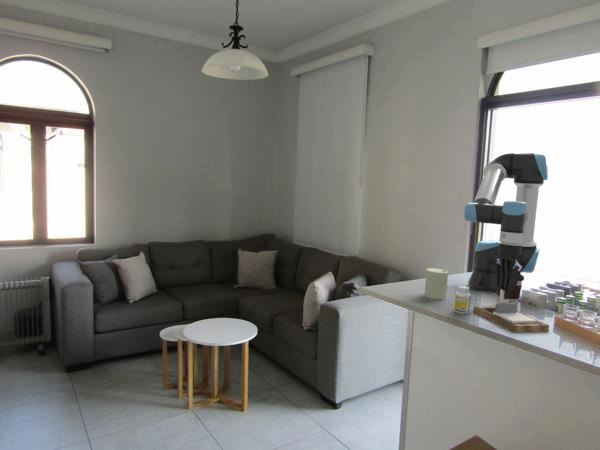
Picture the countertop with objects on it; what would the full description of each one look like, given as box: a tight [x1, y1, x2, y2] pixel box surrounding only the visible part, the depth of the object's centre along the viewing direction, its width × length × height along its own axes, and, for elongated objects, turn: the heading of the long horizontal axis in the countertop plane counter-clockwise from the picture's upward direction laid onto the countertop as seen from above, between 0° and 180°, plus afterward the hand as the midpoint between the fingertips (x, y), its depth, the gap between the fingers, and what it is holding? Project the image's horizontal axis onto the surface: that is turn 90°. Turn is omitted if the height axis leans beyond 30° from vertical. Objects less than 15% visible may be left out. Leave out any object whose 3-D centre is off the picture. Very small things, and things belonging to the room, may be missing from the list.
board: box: [472, 305, 550, 333], centre depth 154 cm, size 14×22×2 cm, turn 13°
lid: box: [493, 302, 537, 323], centre depth 149 cm, size 9×10×4 cm
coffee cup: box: [496, 273, 525, 304], centre depth 172 cm, size 10×10×15 cm
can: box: [423, 267, 449, 301], centre depth 182 cm, size 9×9×12 cm
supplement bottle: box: [454, 285, 472, 315], centre depth 161 cm, size 5×5×10 cm
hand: (503, 306), depth 155 cm, fingers closed
